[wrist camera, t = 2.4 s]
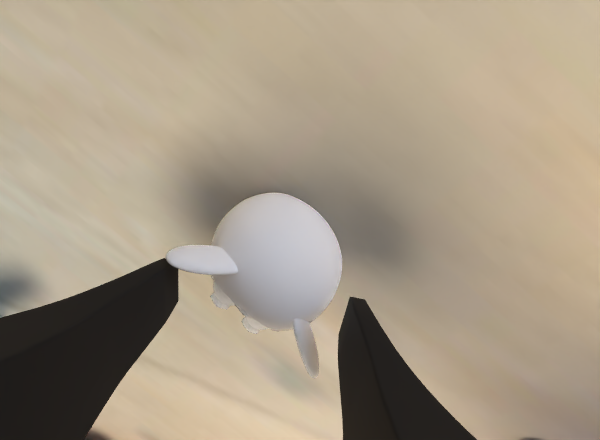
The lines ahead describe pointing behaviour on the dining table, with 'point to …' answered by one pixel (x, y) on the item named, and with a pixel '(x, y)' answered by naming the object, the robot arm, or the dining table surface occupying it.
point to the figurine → (271, 266)
